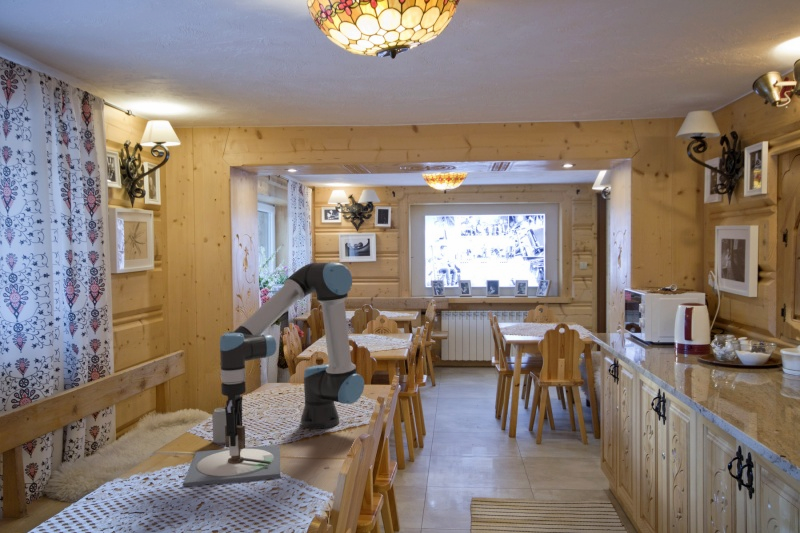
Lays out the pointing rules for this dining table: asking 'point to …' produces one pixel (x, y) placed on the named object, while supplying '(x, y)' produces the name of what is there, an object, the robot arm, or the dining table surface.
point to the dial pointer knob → (240, 447)
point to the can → (219, 425)
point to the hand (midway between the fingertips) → (235, 453)
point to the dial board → (233, 466)
